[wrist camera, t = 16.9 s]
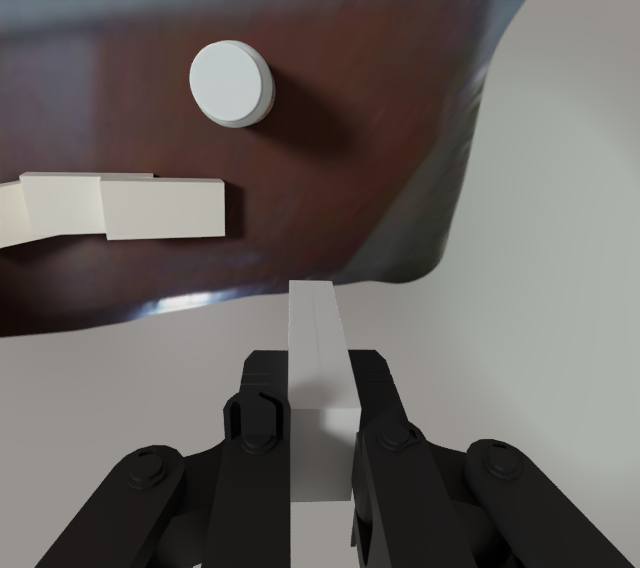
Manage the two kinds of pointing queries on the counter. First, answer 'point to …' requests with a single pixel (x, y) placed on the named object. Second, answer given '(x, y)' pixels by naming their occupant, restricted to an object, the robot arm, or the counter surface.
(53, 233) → the domino
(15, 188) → the domino
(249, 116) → the pill bottle
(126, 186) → the domino
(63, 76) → the counter surface
